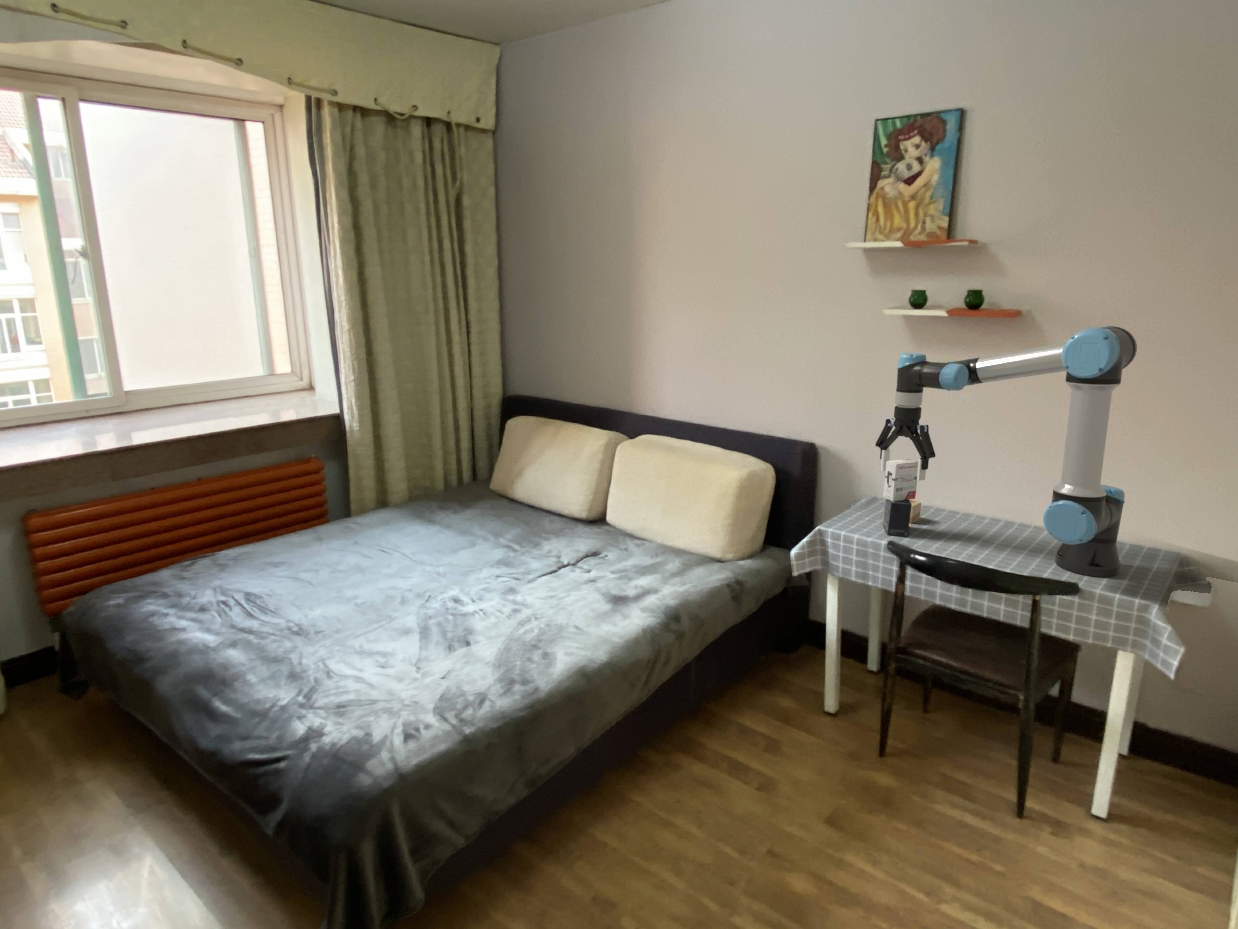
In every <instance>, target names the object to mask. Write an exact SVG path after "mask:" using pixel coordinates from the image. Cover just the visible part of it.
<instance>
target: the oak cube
mask: <svg viewBox="0 0 1238 929" xmlns="http://www.w3.org/2000/svg"><path fill="white" fill-rule="evenodd" d="M909 501H910V502H911V504H912V505H911V513H910V521H909V525H910V524H914V523H916V522H918V521H919V520H920V519H921V518H920V517H921V508H922V501H917V500H914V499H909Z"/></svg>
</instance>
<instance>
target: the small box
mask: <svg viewBox="0 0 1238 929" xmlns="http://www.w3.org/2000/svg"><path fill="white" fill-rule="evenodd" d="M909 500H910V499H909ZM909 500H901V501H891V500H889V499H886V498H885V502H884V503H885V504H884V512H883V519H882V526H883V528H884V531H885V533H886V535H887V536H900V537H908V536H909V529H910V523H909V521H910V513H911V505H912V504H911V502H910V501H909Z"/></svg>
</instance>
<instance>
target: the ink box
mask: <svg viewBox="0 0 1238 929" xmlns="http://www.w3.org/2000/svg"><path fill="white" fill-rule="evenodd" d="M917 471H918V461H917V460H913V459H909V458H903V459H894V460H889V461H887V462H886V471H885V475H884V483H883V484H884V485H883V493H882V495H883V498H884V499H885V500H886V499H889V500H891V501H901V500H915V499H916V495H917V494H916V493H917V487H918V486H917V484H918V480H917Z"/></svg>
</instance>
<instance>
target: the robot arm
mask: <svg viewBox="0 0 1238 929" xmlns="http://www.w3.org/2000/svg"><path fill="white" fill-rule="evenodd" d="M1137 352H1138V345H1137V340H1136V338H1135V337H1134V335H1133V334H1132V333H1131V332H1130V331H1128V330H1126V329H1125V328H1123V327H1120V326H1114V325H1111V326H1096V327H1089V328H1084V329H1082V330H1080V331H1078V332H1076V333H1075V334H1073V335H1072V336H1070V337H1069V338H1068V339H1067V341H1064V342H1060V343H1054V344H1049V345H1041V346H1039V347H1032V348H1031V347H1030V348H1026V349H1020V350H1015V351H1009V352H1004V353H997V354H991V355H987V356H981V357H974V358H968V359H962V360H954V361H948V362H940V361H939V362H938V361H928V360H927V355H926V354H924V353H918V352H904V353H902V354H900V355H899V357H898V363H897V368H896V370H897V376H896V377H897V378H896V389H895V398H894V405H895V406H894V408H893V409H894V411H893V417H892V418H886V419H885V423H884V426H883V428H882V430H881V432H880V434H879V436H878V438H877V440H876V441H875V446H876V447H877V448H879V450H880V453H879V454H880V455H879V459H880V472H886V462H887V461H890V459H891V458H890V456H891V449H890V446H892V445H893V443H895V441H896V440H897V439H898V438H899V437H904V438H909V440H911V441H912V443H913V445H914V447H915V449H916V451H917V453H918V455H919V457H920V458H918V461H917V462H918V471H917V482H918V481H919V482H920V481H925V480H926V472H927V470H928V469H929V460H930V459H933V458H936V456H937V455H936V452H935V449H934V446H933V442H932V438H931V435H930V433H929V430H930V429H929V424H920V420H921V418H922V407H921V406H922V404H923V395H924V388H928V389H937V390H945V391H947V392H948V391H950V392H951V391H962V390H963V389H964V388H965V387H967V386H974V385H978V384H979V385H980V384H984V383H990V382H991V383H993V382H997V381H1005V380H1006V381H1007V380H1014V379H1020V378H1027V377H1033V376H1040V375H1047V374H1054V373H1060V372H1061V373H1062V372H1066V375H1065V382H1064V383H1066V385H1067V386H1068V387H1069V388H1070V389H1071V392H1070V402H1069V409H1068V417H1067V426H1066V437H1065V443H1064V444H1065V445H1064V451H1063V462H1062V471H1061V478H1060V482H1059V483H1057V484H1056V485H1054V486H1053V489H1052V498H1051V504H1049V505H1048V506H1047V507H1046V509H1045V511H1044V513H1043V519H1042V520H1043V525H1044V528H1045V531H1047V533H1048V534H1049V535H1050V536H1051V538H1053V539H1055V540H1056V541H1057V542H1060V543H1061V544H1060V546H1059V547H1058V549H1057V550H1056V553H1055V557H1054V563H1055V564H1056V565H1057V566H1058V567H1060V568H1062V569H1063V570H1065V571H1066V570H1067V571H1070V572H1072V573H1076V574H1079V575H1080V574H1081V575H1084V576H1091V577H1101V578H1102V577H1104V578H1105V577H1106V578H1108V576H1110V577H1115V576H1117V575H1119V574H1120V571H1121V570H1120V569H1121V559H1120V557H1119V556H1120V555H1119V551H1118V546H1117V541H1118V537H1119V536H1118V535H1119V530H1120V525H1121V520H1122V513H1123V508H1124V504H1125V491H1124V490H1123V489H1121V488H1118V487H1115V486H1112V485H1107V484H1101V482H1102V474H1103V465H1104V459H1105V458H1104V457H1105V450H1106V449H1105V448H1106V444H1107V442H1106V441H1107V434H1108V425H1109V418H1110V412H1111V402H1112V397H1113V396H1112V395H1113V391H1114V390H1115V389H1116V388H1118V387H1119V386H1120V385H1121V382H1122V376H1123V370H1124V369H1125V368H1127V367H1128V366H1129V365H1131V363H1132V362H1133V361H1134V360H1135V358H1136V356H1137ZM893 428H894V429H893Z"/></svg>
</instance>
